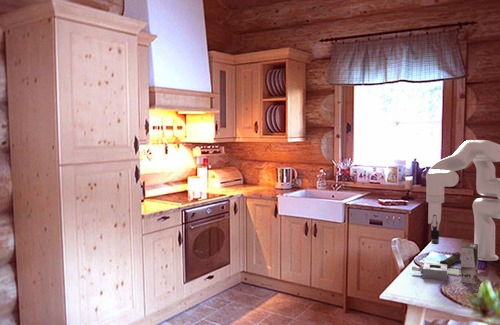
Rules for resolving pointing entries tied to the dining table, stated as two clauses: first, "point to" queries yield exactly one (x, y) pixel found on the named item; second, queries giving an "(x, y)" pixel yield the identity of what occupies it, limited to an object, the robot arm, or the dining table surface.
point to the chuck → (433, 271)
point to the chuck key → (435, 241)
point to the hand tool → (451, 259)
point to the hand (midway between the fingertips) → (435, 237)
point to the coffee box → (469, 263)
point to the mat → (453, 271)
